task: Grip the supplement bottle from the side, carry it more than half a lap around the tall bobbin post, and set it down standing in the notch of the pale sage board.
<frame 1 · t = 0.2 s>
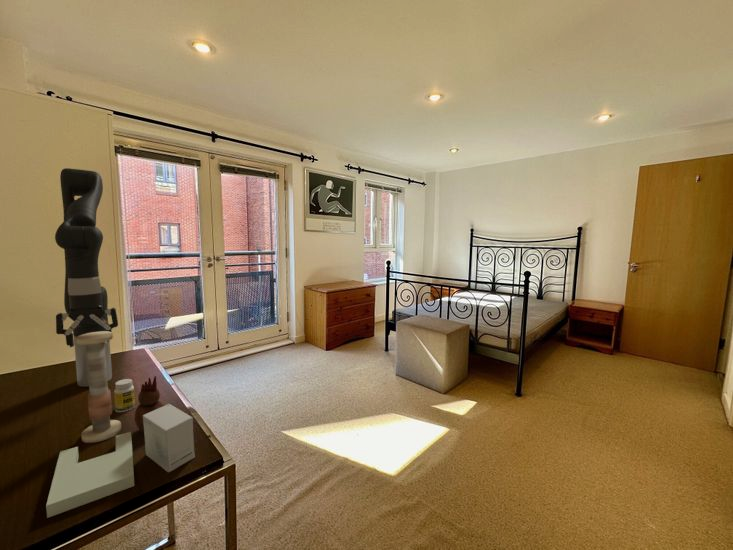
hand: (90, 343, 99), 17 cm above the table, tool pointing down, fingers open, 8 cm apart
notched board: (96, 473, 70), on the table
skincare box: (169, 457, 76), on the table
bobbin post: (102, 433, 83), on the table
supplement bottle: (125, 409, 95), on the table
wooden figurine: (151, 429, 86), on the table
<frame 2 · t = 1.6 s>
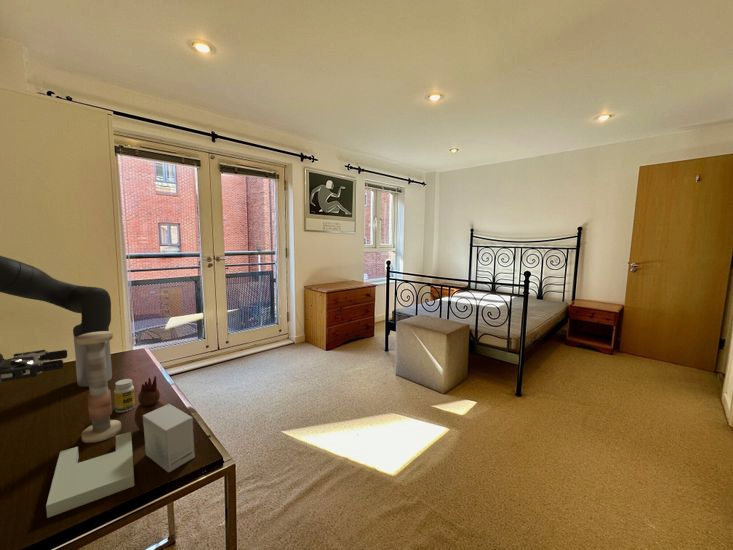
hand: (65, 358, 85), 18 cm above the table, tool horizontal, fingers open, 8 cm apart
nothing on the table moved.
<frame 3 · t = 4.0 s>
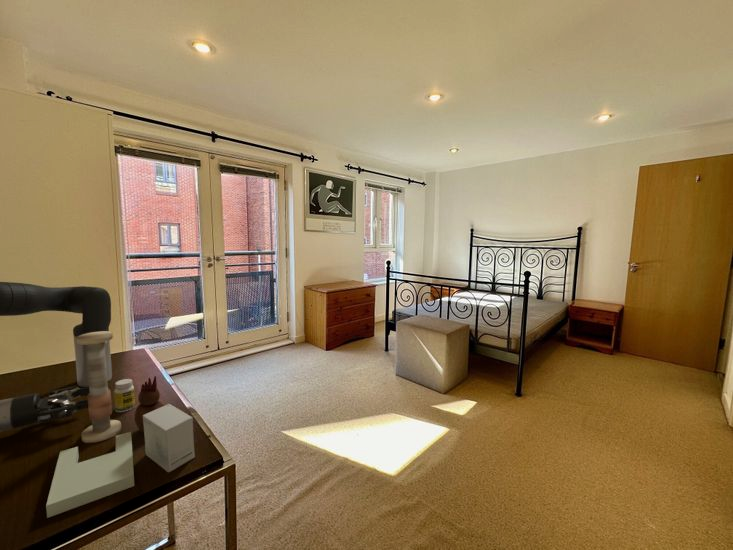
hand: (96, 395, 90), 6 cm above the table, tool horizontal, fingers open, 8 cm apart
nothing on the table moved.
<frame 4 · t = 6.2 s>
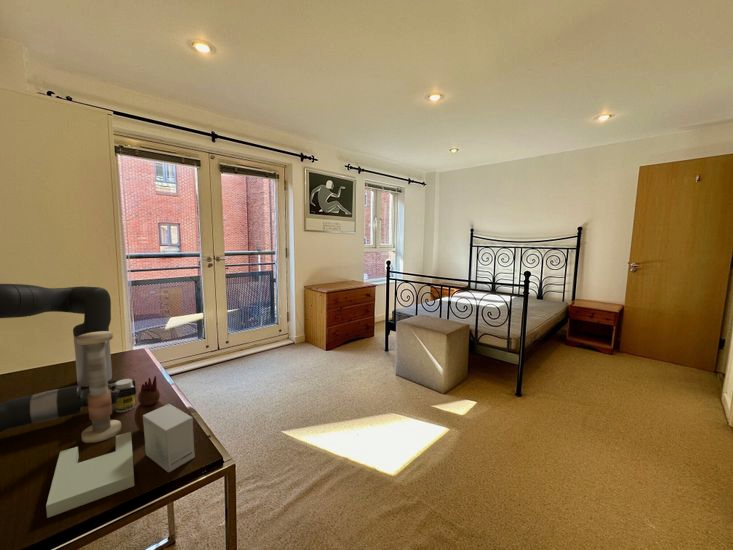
hand: (135, 386, 96), 6 cm above the table, tool horizontal, fingers closed on supplement bottle, 4 cm apart
supplement bottle: (125, 409, 95), on the table, touching gripper
everything else where it was.
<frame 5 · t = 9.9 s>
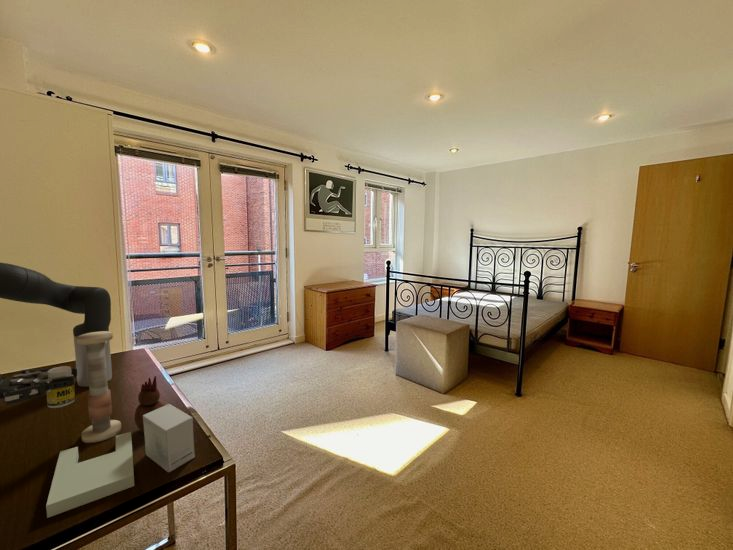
hand: (75, 376, 76), 18 cm above the table, tool horizontal, fingers closed on supplement bottle, 4 cm apart
supplement bottle: (61, 404, 75), point 12 cm above the table, touching gripper
everything else where it was.
when the fingers open (7 cm above the table, at t = 14.0 s): supplement bottle drops 1 cm, on the table.
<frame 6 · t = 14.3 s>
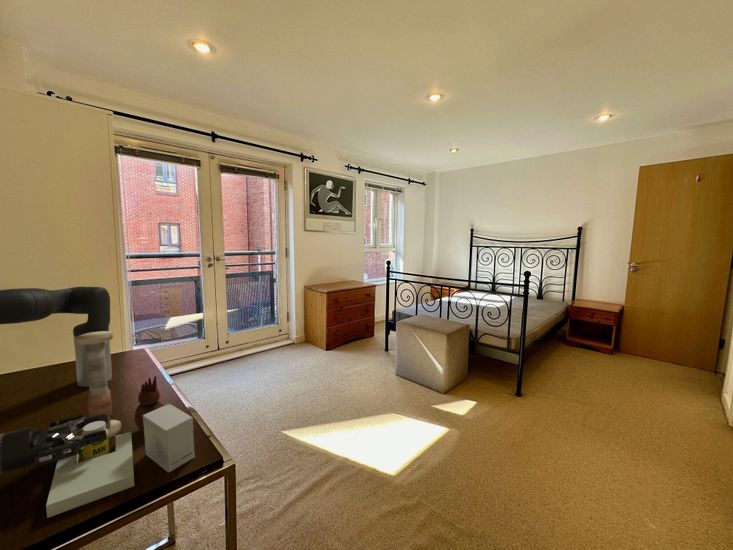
hand: (106, 425, 74), 7 cm above the table, tool horizontal, fingers open, 7 cm apart
supplement bottle: (96, 460, 74), on the table
everything else where it was.
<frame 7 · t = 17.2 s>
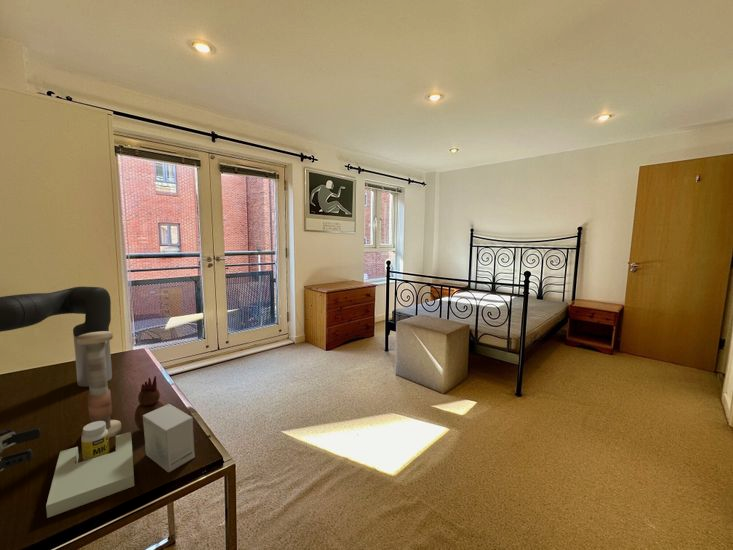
hand: (36, 442, 67), 8 cm above the table, tool horizontal, fingers open, 8 cm apart
nothing on the table moved.
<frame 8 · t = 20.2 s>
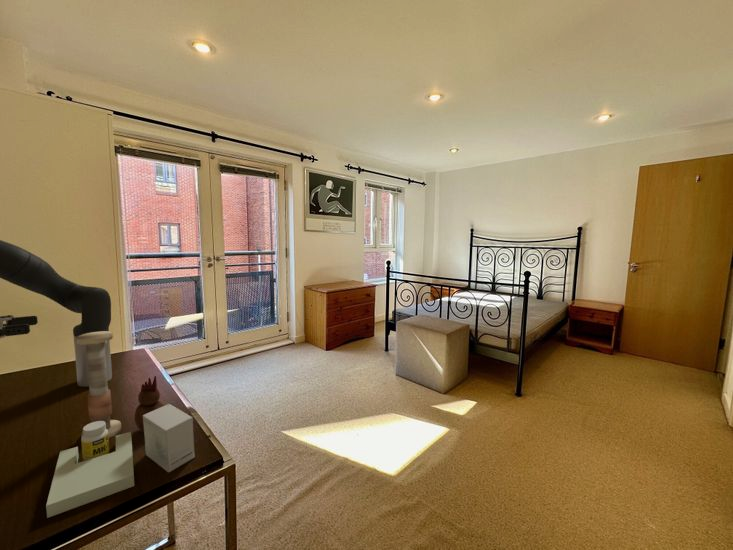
hand: (33, 324, 76), 30 cm above the table, tool horizontal, fingers open, 8 cm apart
nothing on the table moved.
at the end: supplement bottle 0.1 cm from the target spot, on the table; supplement bottle tilted 0°; the gripper is holding nothing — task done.
